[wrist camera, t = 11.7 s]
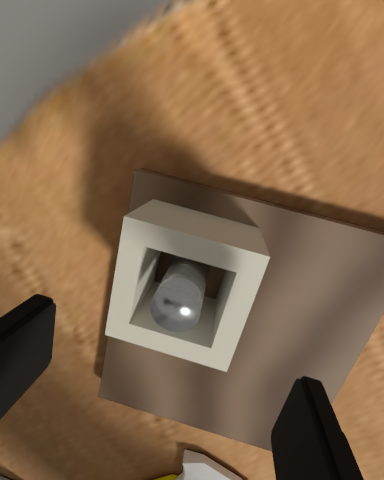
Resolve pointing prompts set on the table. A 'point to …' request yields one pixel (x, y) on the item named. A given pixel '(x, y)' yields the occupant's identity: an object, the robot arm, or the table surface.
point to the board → (259, 317)
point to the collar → (195, 248)
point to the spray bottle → (201, 469)
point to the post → (180, 295)
